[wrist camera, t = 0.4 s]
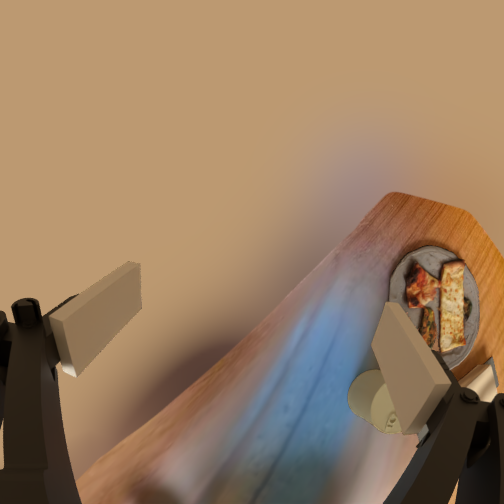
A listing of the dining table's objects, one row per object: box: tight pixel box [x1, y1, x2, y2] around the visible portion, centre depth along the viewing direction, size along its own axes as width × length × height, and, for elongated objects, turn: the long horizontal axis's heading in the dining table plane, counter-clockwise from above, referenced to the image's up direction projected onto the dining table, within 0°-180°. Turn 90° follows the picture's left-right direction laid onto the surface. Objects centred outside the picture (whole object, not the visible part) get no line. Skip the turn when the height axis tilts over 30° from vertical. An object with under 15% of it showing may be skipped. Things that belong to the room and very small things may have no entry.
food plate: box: [389, 245, 480, 370], centre depth 46 cm, size 25×23×4 cm
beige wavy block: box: [458, 365, 497, 402], centre depth 38 cm, size 10×14×4 cm
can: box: [348, 369, 402, 434], centre depth 38 cm, size 9×9×12 cm
